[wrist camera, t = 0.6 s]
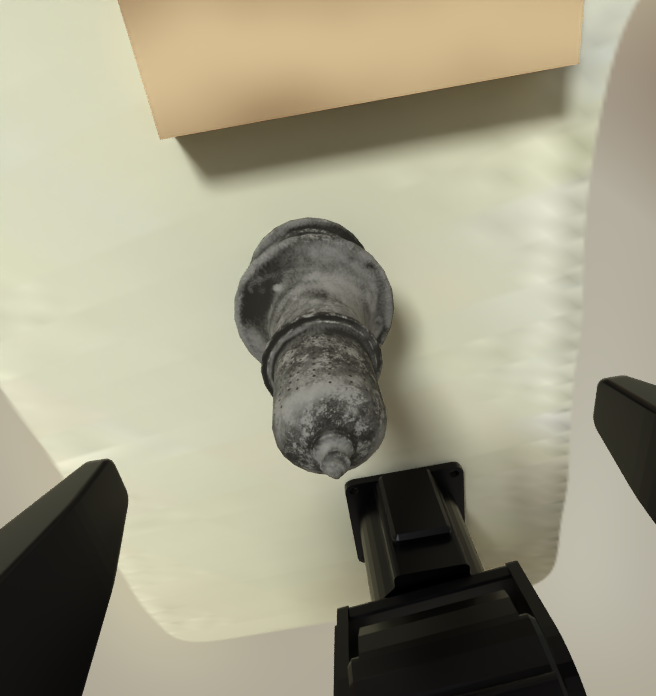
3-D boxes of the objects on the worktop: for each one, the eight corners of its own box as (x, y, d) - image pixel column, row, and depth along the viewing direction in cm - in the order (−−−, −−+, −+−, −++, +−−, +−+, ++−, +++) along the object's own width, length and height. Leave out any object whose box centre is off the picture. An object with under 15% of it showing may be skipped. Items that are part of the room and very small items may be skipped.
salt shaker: (391, 317, 22) (488, 529, 12) (269, 354, 23) (257, 591, 12) (357, 190, 19) (445, 321, 9) (219, 236, 20) (146, 411, 9)
